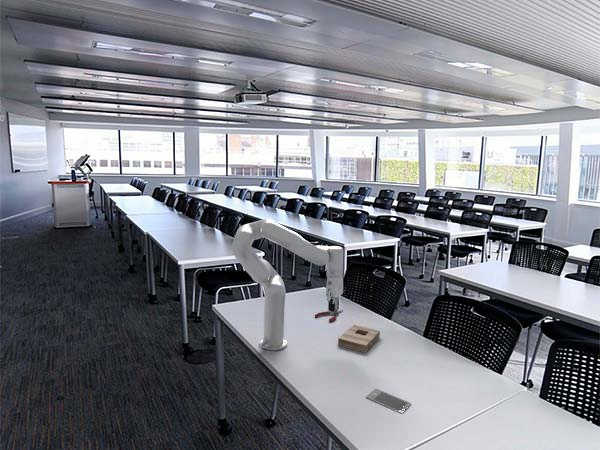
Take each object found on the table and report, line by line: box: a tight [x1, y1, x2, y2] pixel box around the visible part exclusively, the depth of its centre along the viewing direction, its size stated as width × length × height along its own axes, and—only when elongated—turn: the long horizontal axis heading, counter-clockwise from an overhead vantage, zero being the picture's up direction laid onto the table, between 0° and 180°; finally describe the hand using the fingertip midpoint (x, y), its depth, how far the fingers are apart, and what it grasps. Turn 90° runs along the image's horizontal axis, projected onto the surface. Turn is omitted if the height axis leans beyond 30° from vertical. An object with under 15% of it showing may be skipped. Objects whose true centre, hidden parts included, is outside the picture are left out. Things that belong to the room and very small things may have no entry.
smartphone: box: [365, 388, 412, 412], centre depth 151 cm, size 15×8×1 cm, turn 51°
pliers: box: [314, 308, 344, 323], centre depth 234 cm, size 12×20×3 cm, turn 143°
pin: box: [329, 296, 338, 317], centre depth 194 cm, size 4×4×9 cm
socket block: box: [337, 324, 381, 354], centre depth 201 cm, size 20×14×4 cm
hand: (333, 309), depth 194 cm, fingers closed on pin, 3 cm apart
